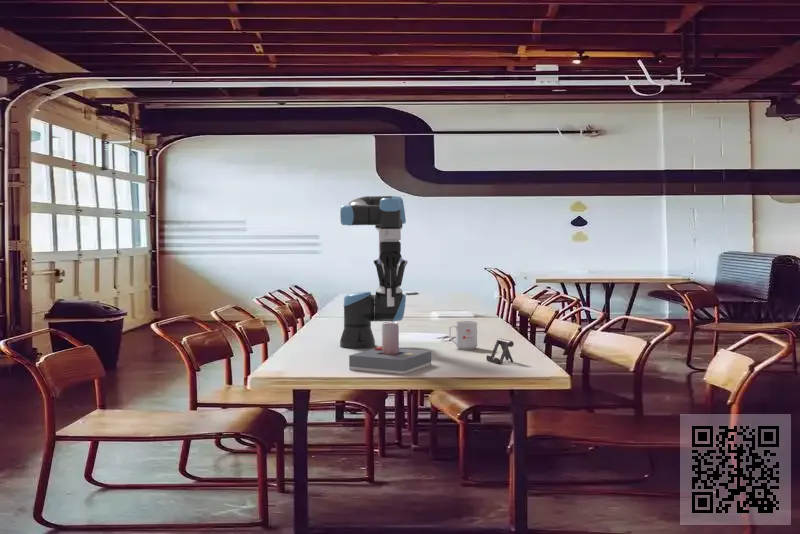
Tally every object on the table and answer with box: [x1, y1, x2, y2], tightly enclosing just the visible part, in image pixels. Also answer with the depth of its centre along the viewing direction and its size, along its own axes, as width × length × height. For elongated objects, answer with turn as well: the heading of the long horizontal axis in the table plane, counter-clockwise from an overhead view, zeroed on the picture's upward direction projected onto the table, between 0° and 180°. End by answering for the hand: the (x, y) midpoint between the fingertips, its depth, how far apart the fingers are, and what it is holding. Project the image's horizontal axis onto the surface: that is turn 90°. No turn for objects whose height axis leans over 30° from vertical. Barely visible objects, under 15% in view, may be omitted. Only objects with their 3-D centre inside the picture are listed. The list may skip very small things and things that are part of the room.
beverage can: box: [381, 321, 400, 356], centre depth 272 cm, size 6×6×15 cm
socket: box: [348, 345, 432, 375], centre depth 273 cm, size 22×22×6 cm
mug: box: [448, 320, 478, 351], centre depth 317 cm, size 12×9×11 cm
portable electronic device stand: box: [486, 338, 515, 365], centre depth 283 cm, size 9×8×8 cm
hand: (390, 306), depth 272 cm, fingers closed
